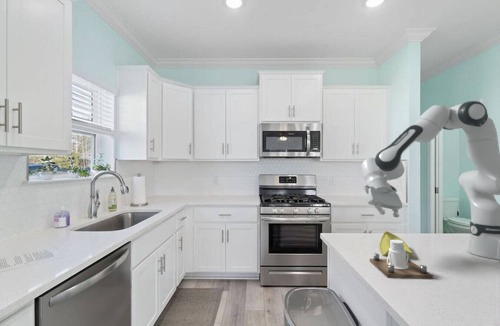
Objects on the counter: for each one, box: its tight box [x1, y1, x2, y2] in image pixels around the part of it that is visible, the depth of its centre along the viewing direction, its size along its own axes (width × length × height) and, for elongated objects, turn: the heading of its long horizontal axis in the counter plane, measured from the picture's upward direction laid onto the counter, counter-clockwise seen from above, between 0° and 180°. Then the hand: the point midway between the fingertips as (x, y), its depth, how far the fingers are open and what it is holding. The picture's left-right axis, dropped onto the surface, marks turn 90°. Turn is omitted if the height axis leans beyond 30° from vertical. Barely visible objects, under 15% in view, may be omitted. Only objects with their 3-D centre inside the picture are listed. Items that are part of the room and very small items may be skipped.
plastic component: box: [378, 231, 413, 259], centre depth 122 cm, size 20×7×10 cm
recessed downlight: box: [386, 240, 410, 269], centre depth 101 cm, size 8×7×10 cm
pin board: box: [369, 252, 434, 279], centre depth 101 cm, size 16×16×4 cm
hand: (389, 215), depth 113 cm, fingers open, 8 cm apart
